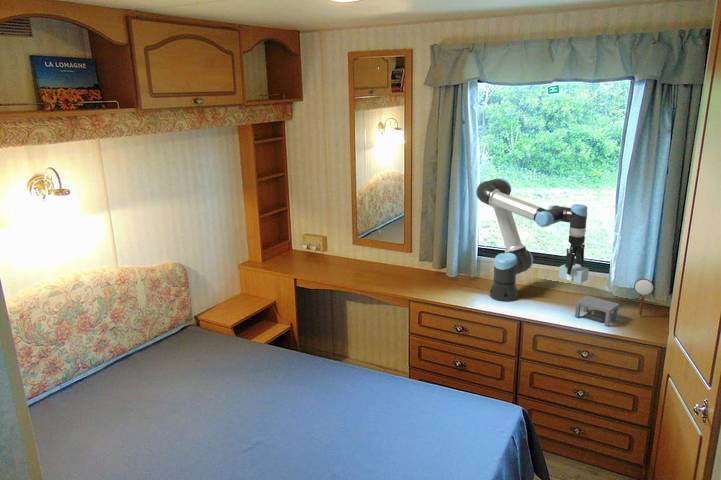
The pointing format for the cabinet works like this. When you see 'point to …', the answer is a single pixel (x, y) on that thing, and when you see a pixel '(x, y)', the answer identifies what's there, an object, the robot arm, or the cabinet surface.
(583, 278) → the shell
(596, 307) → the grey footstool
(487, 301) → the cabinet surface
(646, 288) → the magnifying glass
